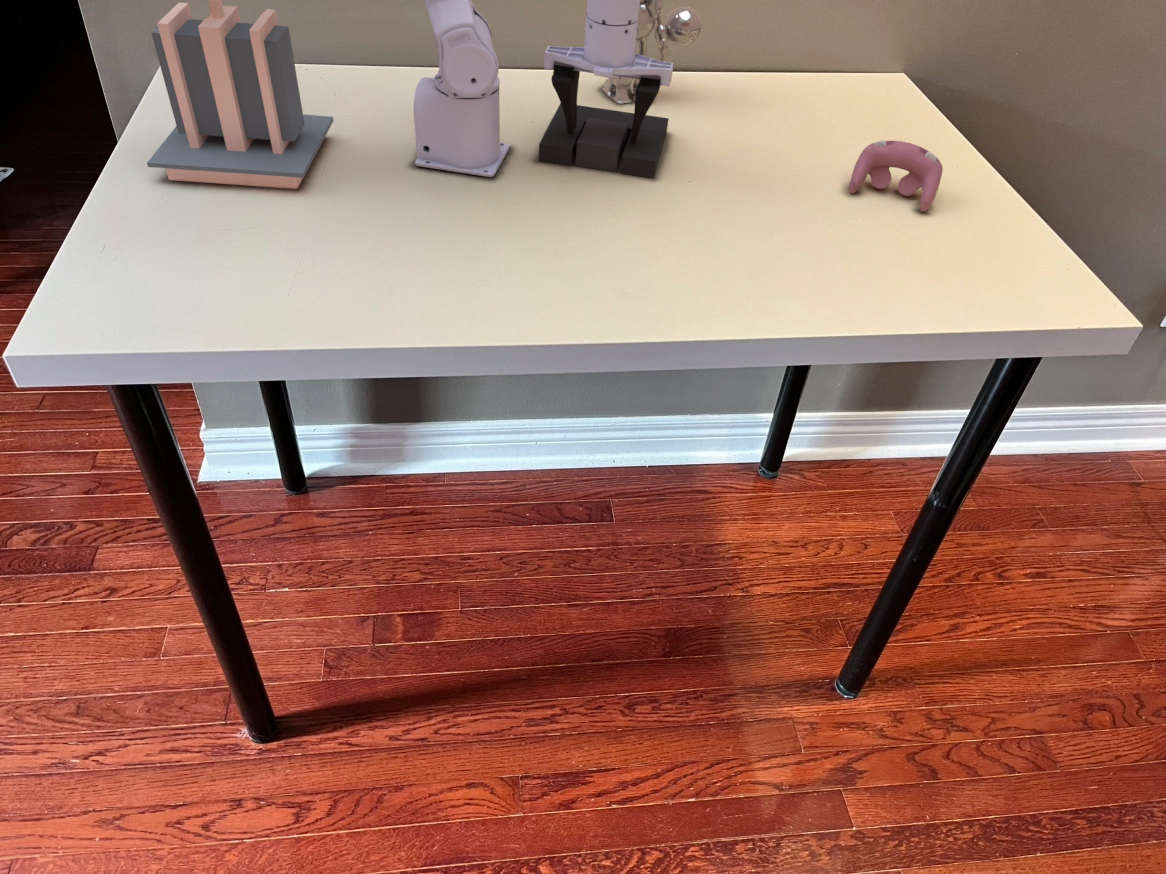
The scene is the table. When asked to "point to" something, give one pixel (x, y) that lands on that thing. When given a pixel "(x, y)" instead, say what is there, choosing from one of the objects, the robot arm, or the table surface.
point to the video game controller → (904, 156)
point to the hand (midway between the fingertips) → (602, 135)
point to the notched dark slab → (652, 131)
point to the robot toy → (677, 28)
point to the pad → (601, 144)
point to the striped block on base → (233, 101)
